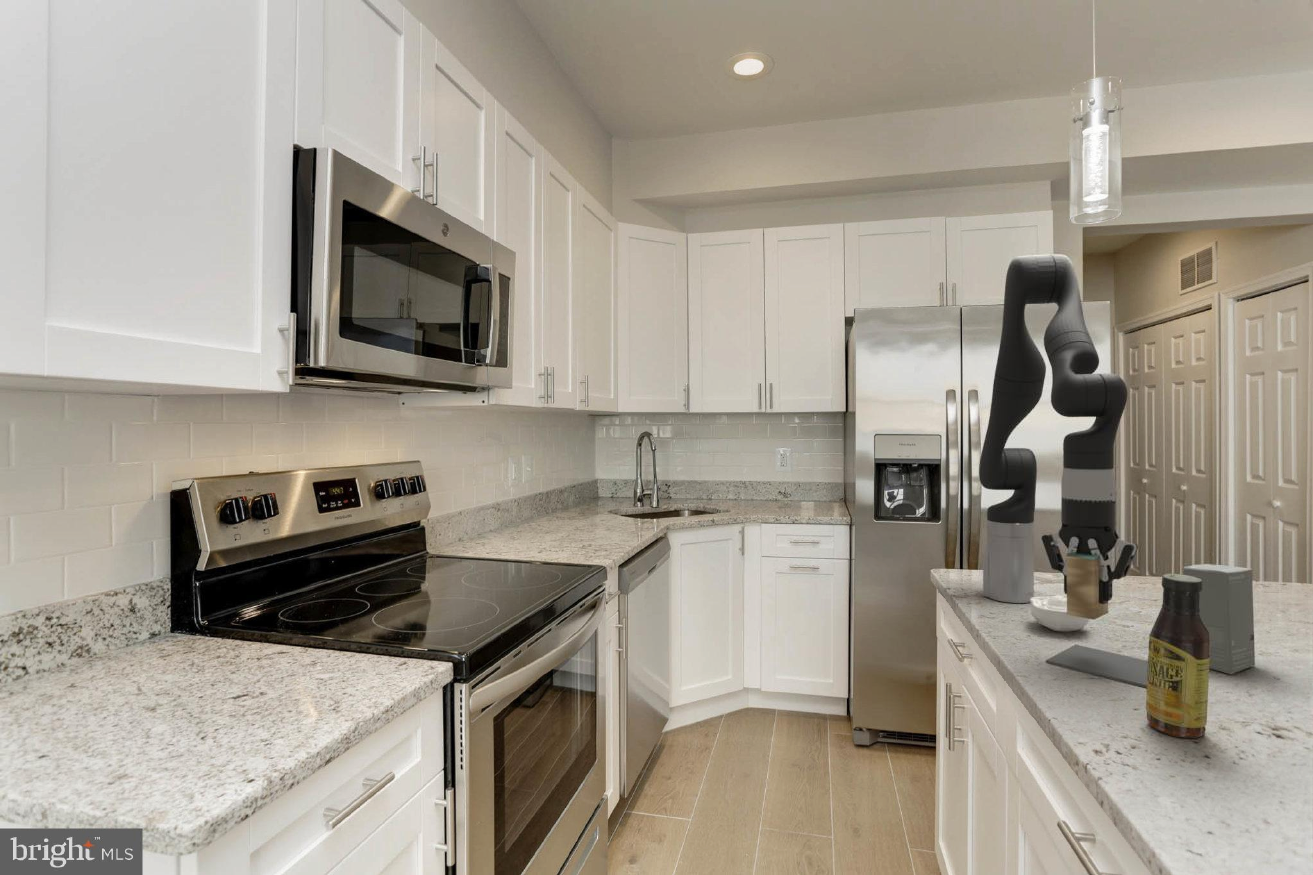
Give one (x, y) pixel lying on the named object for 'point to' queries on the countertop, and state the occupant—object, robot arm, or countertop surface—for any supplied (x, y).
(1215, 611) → the skincare box
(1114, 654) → the mat
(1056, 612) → the cell model
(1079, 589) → the block
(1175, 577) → the sauce bottle
